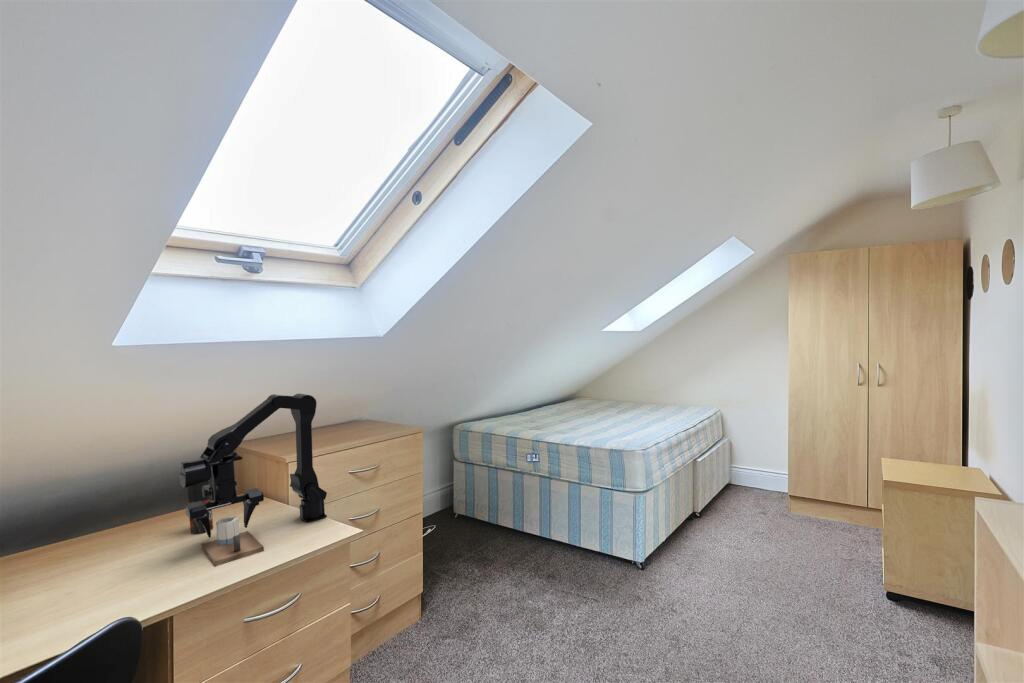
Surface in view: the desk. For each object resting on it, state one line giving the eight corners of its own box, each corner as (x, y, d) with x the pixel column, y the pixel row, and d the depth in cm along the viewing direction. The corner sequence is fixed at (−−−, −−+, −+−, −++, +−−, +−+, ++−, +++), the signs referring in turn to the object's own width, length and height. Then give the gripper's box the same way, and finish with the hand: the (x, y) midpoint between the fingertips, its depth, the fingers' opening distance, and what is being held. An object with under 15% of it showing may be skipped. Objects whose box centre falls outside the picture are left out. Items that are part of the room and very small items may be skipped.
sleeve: (241, 540, 148) (239, 519, 148) (220, 546, 145) (219, 525, 144) (235, 535, 152) (234, 515, 152) (215, 541, 148) (214, 520, 148)
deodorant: (211, 532, 158) (208, 483, 157) (188, 535, 156) (185, 486, 155) (214, 524, 163) (211, 477, 163) (192, 528, 161) (189, 480, 160)
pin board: (247, 534, 155) (246, 517, 155) (263, 550, 144) (262, 532, 144) (201, 548, 147) (200, 530, 147) (215, 566, 136) (213, 546, 135)
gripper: (251, 465, 159) (254, 515, 160) (179, 480, 147) (183, 534, 148) (262, 472, 151) (266, 525, 152) (188, 489, 139) (192, 546, 140)
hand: (227, 532), depth 148 cm, fingers open, 9 cm apart
